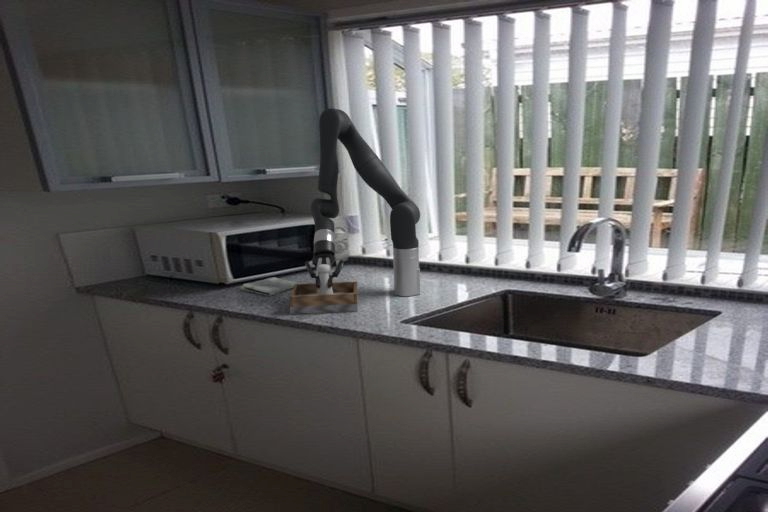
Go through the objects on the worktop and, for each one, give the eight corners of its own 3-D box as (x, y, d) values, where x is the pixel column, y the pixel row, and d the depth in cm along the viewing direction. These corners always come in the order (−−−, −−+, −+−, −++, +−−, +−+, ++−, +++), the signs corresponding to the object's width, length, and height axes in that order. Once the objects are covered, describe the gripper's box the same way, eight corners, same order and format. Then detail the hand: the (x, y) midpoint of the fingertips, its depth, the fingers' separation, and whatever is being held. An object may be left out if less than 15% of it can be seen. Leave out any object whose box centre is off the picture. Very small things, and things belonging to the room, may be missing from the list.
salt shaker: (330, 304, 176) (328, 267, 173) (314, 304, 177) (312, 266, 175) (336, 299, 182) (334, 263, 179) (320, 298, 183) (318, 262, 180)
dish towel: (304, 287, 207) (304, 279, 206) (269, 298, 193) (269, 289, 192) (273, 280, 218) (272, 273, 217) (237, 291, 204) (237, 283, 203)
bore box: (357, 297, 188) (357, 281, 187) (357, 311, 172) (356, 293, 171) (296, 300, 187) (295, 284, 186) (290, 314, 171) (289, 296, 170)
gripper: (303, 239, 182) (301, 282, 173) (343, 238, 183) (344, 280, 173) (305, 251, 188) (304, 293, 179) (344, 249, 189) (345, 291, 180)
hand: (324, 287), depth 176 cm, fingers closed on salt shaker, 3 cm apart
